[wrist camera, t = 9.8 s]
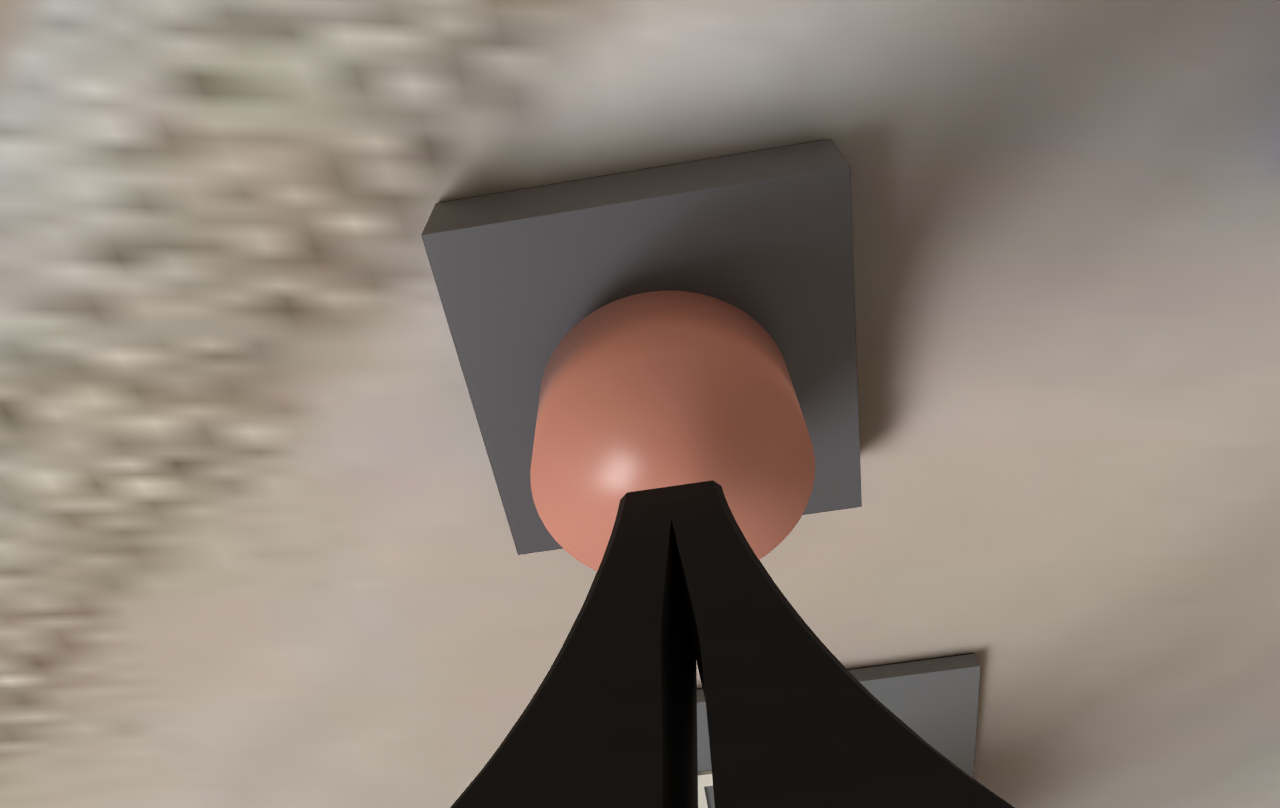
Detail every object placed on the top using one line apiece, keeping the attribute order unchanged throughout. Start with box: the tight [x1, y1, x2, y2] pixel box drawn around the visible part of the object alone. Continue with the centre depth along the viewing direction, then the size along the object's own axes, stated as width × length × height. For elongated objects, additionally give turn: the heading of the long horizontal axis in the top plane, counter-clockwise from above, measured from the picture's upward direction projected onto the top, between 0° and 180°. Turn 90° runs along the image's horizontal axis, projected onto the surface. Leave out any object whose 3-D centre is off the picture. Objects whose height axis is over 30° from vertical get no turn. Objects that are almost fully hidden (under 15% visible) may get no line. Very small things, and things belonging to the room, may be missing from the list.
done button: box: [530, 290, 815, 571], centre depth 15 cm, size 4×4×2 cm
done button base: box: [421, 139, 862, 555], centre depth 17 cm, size 7×7×2 cm
